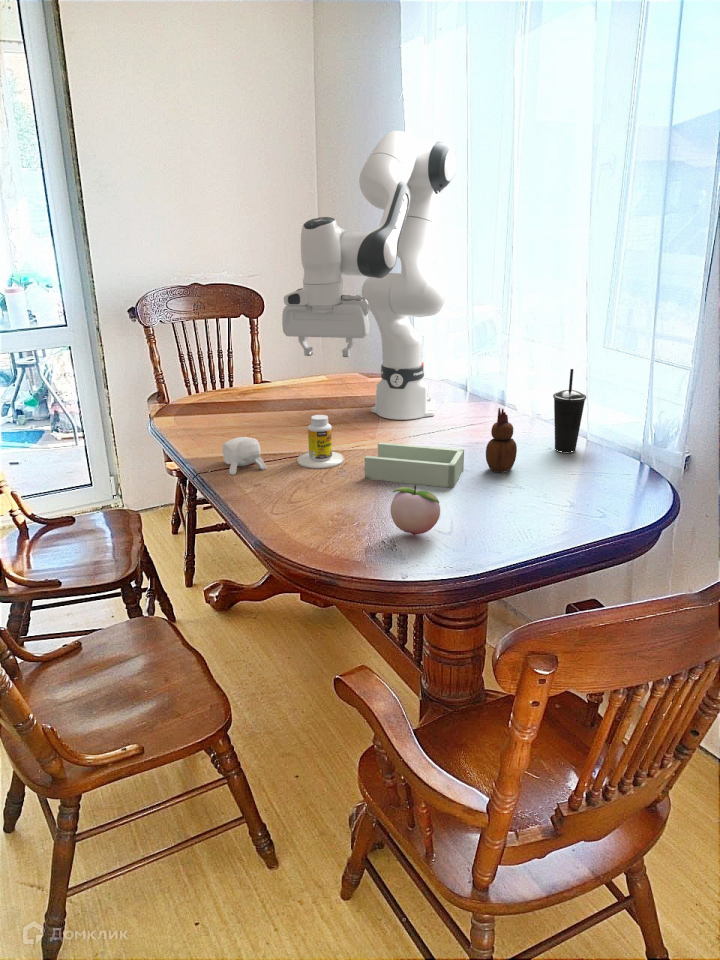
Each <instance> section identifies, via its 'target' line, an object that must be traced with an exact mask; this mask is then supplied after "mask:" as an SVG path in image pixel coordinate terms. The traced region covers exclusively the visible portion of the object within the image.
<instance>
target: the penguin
mask: <svg viewBox="0 0 720 960" xmlns="http://www.w3.org/2000/svg"><path fill="white" fill-rule="evenodd" d="M221 451H222V456H223V460H224V463H225V464H227V465H230V466H229V469H228V470H229V474H231V476H233V475H234V476H235V475H236V473H237V471H238V470H237V468H238V467H246V466H250V465H252V464H255V465H257V467H258V468H259V469H260V470H261V469H262V471H265V470H267V464H266V463H265V462H264V461H263V459H262V457H261V446H260V443H259V441H258V439H256V438H253V437H245V436H239V437H235V438H232V439H230V440H228V441H226V442H223V443H222V449H221Z"/></svg>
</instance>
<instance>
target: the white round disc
mask: <svg viewBox="0 0 720 960" xmlns="http://www.w3.org/2000/svg"><path fill="white" fill-rule="evenodd" d="M342 463H344V456H343V454H341V453H339V452H336V451H332V457H331V458H330V459H329V460H326V461H314V460H311V459H310V458H309V451H308V452H306V453H305V452H304V453H303V454H301V455H299V456H298V457H297V464H298V465H299V466H301V467H303V468H307V469H313V470H314V469H319V470H320V469H321V470H322V469H330V468H334V466H335V467H337V465H338V466H340V465H341V464H342Z"/></svg>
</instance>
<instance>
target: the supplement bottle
mask: <svg viewBox="0 0 720 960" xmlns="http://www.w3.org/2000/svg"><path fill="white" fill-rule="evenodd" d="M332 430H333V429H332V425H331V424H330V423H329V417H328V415H326V414H325V415H324V414H315V415H312V416H311V417H310V424H309V425H308V427H307V436H308V437H307V438H308V443H307V445H308V452H309V458H310V459H311V460H314V461H326V460H329V459H330V458H331V457H332V452H333V437H332V436H333V435H332V432H333V431H332Z"/></svg>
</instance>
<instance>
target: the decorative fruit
mask: <svg viewBox="0 0 720 960" xmlns="http://www.w3.org/2000/svg"><path fill="white" fill-rule="evenodd" d="M413 485H414V486H413V488H412V487H408V486H402V487H401V486H400V487H398V488H395V489H394V490H393V491H392V493H395V492H397V493H396V494H395V495H394V496H393V499H391V500H392V501H391V503H390V516H391V519H392V521H393V523H394V525H395V526H396V527H397V529H399V530H400V531H402V532H404V533H408V534H411V535H412V536H417V535H418V536H419V535H422V534H426V533H427V532H429V531H431V530H432V529H433V528H434V527H435V526H436V524H437V523H438V521H439V519H440V516H441V506H440V500H439V499H438V497H437V495H435V494H434V493H432V492H430V491H427V490H417V484H413Z"/></svg>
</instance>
